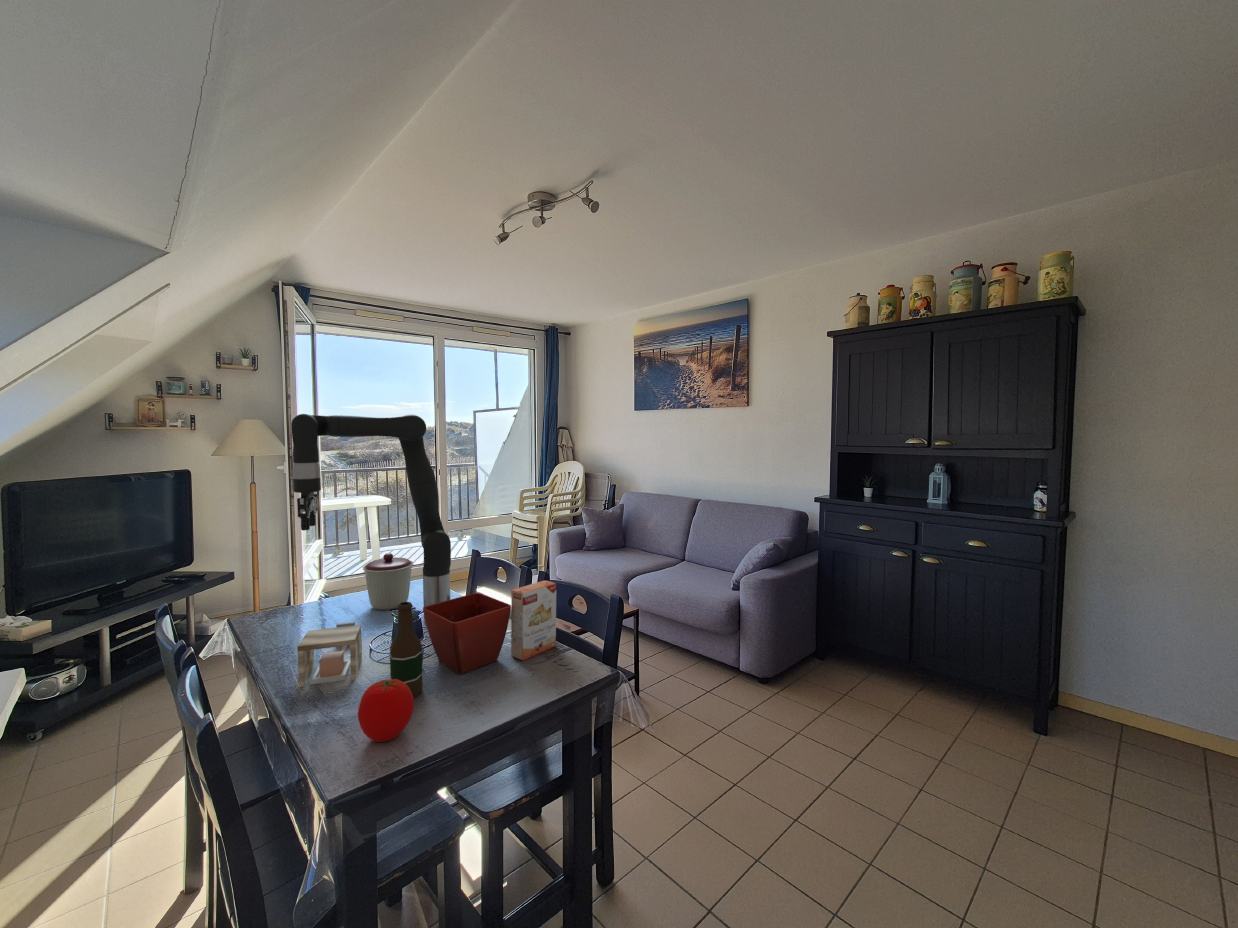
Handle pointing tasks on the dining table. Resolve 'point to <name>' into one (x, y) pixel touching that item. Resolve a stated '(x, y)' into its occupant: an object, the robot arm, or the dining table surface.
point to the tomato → (385, 709)
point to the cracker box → (533, 619)
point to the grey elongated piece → (347, 664)
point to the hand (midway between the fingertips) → (308, 527)
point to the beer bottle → (406, 651)
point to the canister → (388, 581)
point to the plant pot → (467, 630)
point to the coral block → (331, 664)
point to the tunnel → (328, 640)
